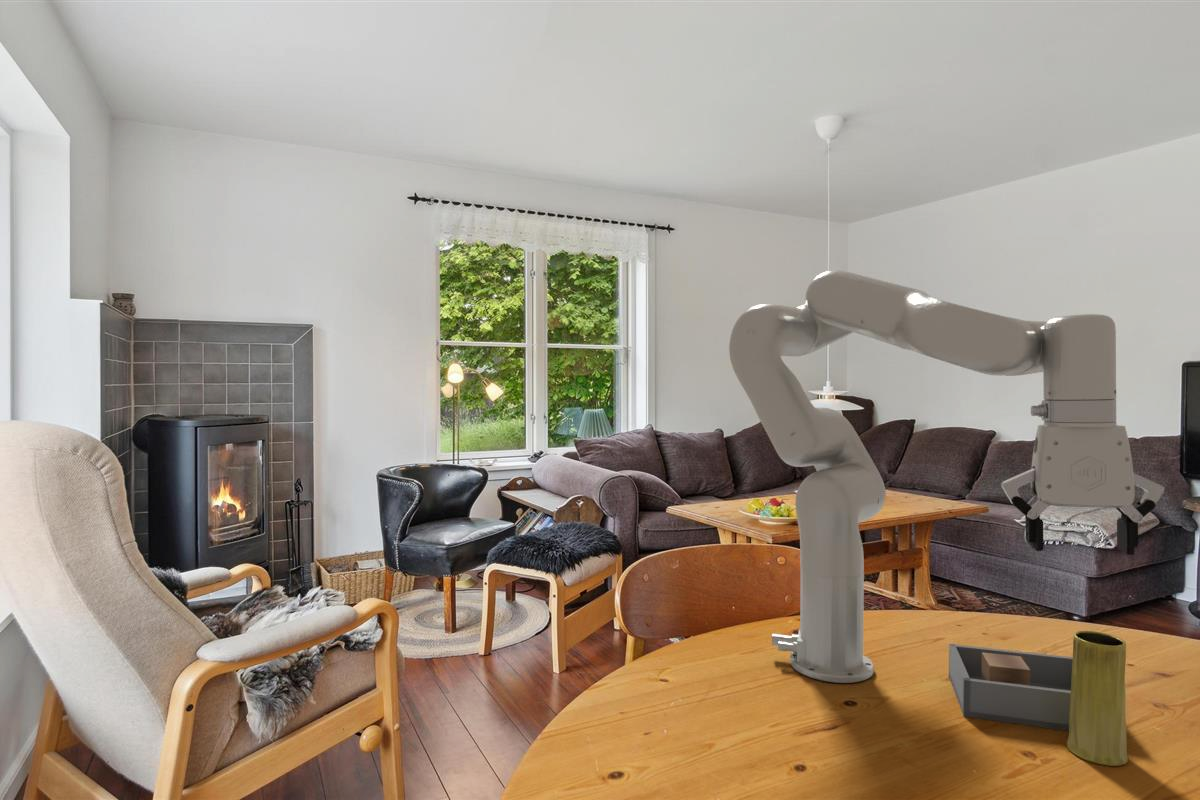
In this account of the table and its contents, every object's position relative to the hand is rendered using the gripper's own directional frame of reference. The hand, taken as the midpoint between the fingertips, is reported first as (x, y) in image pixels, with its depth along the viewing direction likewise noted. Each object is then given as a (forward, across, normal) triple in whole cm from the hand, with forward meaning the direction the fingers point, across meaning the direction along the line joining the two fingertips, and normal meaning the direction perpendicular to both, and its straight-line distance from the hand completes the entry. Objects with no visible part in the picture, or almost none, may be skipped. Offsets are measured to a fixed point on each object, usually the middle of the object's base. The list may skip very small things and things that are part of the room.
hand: (1080, 550), depth 88 cm
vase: (+24, +1, -2) cm, 25 cm away
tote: (+24, -4, +10) cm, 26 cm away
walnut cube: (+23, -6, +10) cm, 26 cm away
